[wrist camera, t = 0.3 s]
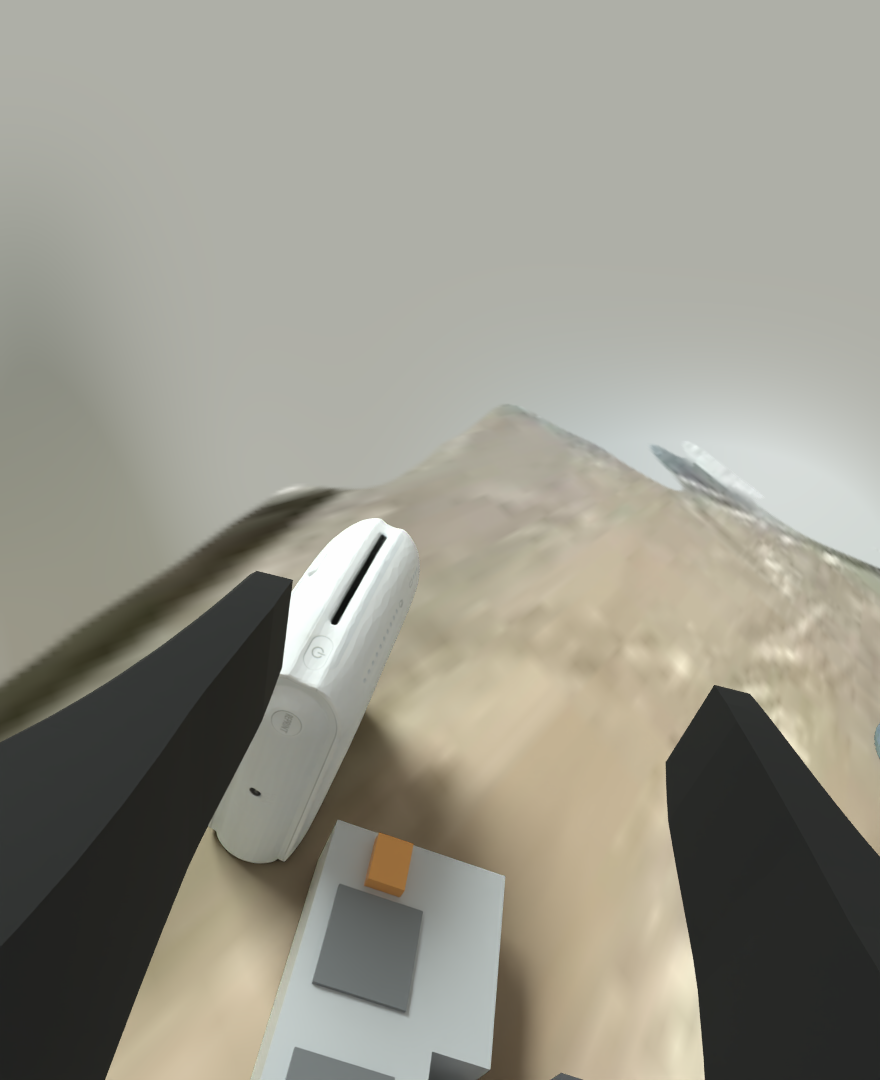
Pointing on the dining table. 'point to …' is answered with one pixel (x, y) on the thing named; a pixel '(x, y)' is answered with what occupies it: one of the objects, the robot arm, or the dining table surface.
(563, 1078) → the charger
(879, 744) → the grey-green cup
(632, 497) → the dining table surface
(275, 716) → the photo printer
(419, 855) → the power strip
